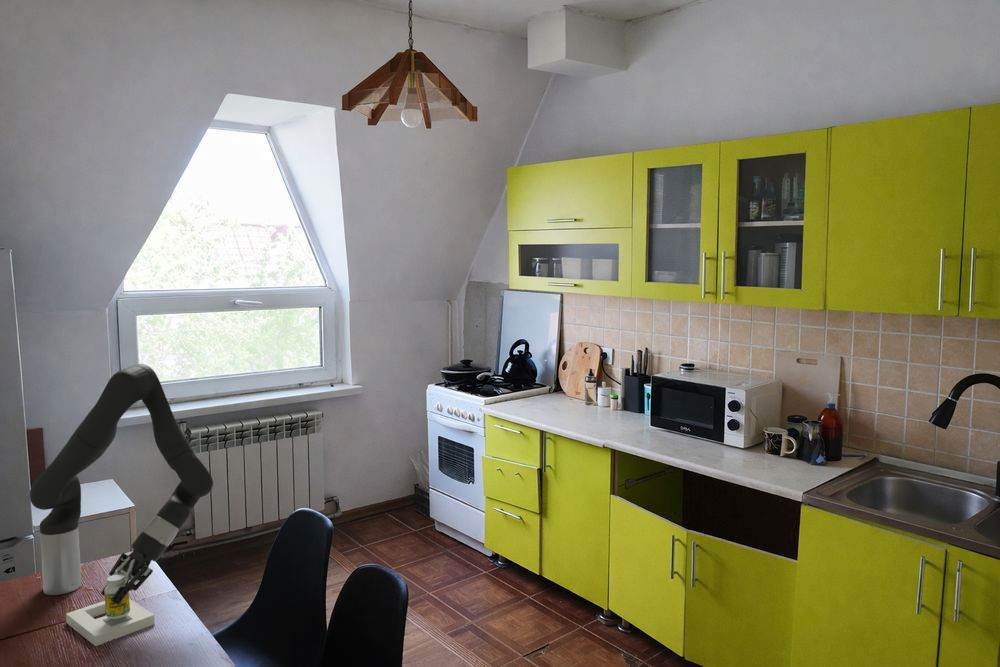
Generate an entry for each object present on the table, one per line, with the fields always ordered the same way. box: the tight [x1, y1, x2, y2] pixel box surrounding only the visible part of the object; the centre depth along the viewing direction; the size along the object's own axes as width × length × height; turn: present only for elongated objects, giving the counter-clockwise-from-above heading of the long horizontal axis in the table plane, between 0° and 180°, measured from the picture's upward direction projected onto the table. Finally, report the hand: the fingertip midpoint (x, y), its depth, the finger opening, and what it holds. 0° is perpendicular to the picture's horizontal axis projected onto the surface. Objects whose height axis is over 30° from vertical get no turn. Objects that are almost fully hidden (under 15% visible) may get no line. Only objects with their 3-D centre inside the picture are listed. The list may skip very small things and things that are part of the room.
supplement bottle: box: [104, 574, 130, 619], centre depth 178 cm, size 5×5×10 cm
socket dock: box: [65, 598, 156, 647], centre depth 182 cm, size 18×14×3 cm
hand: (109, 598), depth 177 cm, fingers closed on supplement bottle, 5 cm apart
